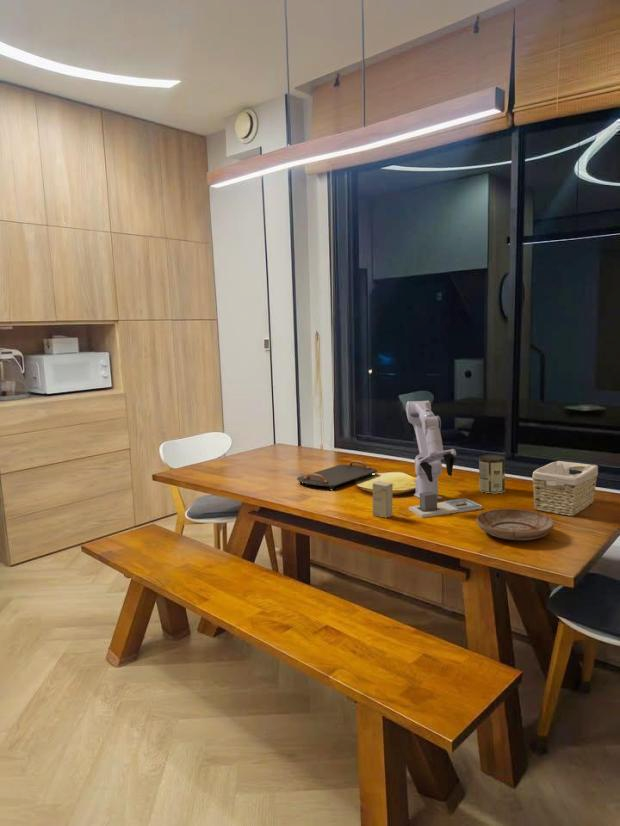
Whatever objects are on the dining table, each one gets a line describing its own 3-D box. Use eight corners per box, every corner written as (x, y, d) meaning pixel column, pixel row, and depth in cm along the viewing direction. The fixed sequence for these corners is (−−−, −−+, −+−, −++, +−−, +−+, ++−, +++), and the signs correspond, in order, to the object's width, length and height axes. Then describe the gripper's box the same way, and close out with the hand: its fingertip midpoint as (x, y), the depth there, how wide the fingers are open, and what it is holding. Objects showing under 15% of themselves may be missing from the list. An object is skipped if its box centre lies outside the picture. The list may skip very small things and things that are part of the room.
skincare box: (372, 515, 206) (371, 483, 204) (379, 512, 209) (378, 480, 207) (386, 518, 202) (386, 485, 200) (393, 515, 205) (392, 483, 203)
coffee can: (490, 486, 238) (490, 453, 236) (510, 491, 230) (510, 457, 228) (473, 490, 233) (473, 457, 231) (493, 495, 224) (493, 461, 222)
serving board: (344, 468, 282) (344, 456, 281) (382, 474, 266) (382, 462, 266) (291, 485, 254) (290, 472, 253) (330, 493, 238) (329, 479, 237)
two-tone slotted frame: (408, 509, 211) (408, 506, 210) (466, 501, 218) (466, 497, 218) (421, 517, 201) (421, 513, 201) (482, 508, 208) (482, 504, 208)
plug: (419, 511, 209) (419, 493, 208) (431, 509, 210) (431, 491, 209) (425, 514, 205) (424, 495, 204) (437, 512, 206) (437, 494, 205)
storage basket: (554, 495, 221) (555, 459, 219) (599, 503, 210) (600, 464, 208) (529, 510, 204) (530, 471, 202) (576, 519, 193) (577, 477, 191)
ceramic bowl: (494, 517, 198) (494, 504, 198) (563, 530, 183) (564, 516, 182) (464, 537, 181) (464, 522, 181) (538, 553, 166) (538, 536, 165)
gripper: (412, 447, 211) (417, 480, 204) (447, 434, 204) (453, 468, 197) (421, 453, 216) (426, 486, 209) (456, 441, 209) (462, 475, 202)
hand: (440, 478), depth 203 cm, fingers open, 7 cm apart
